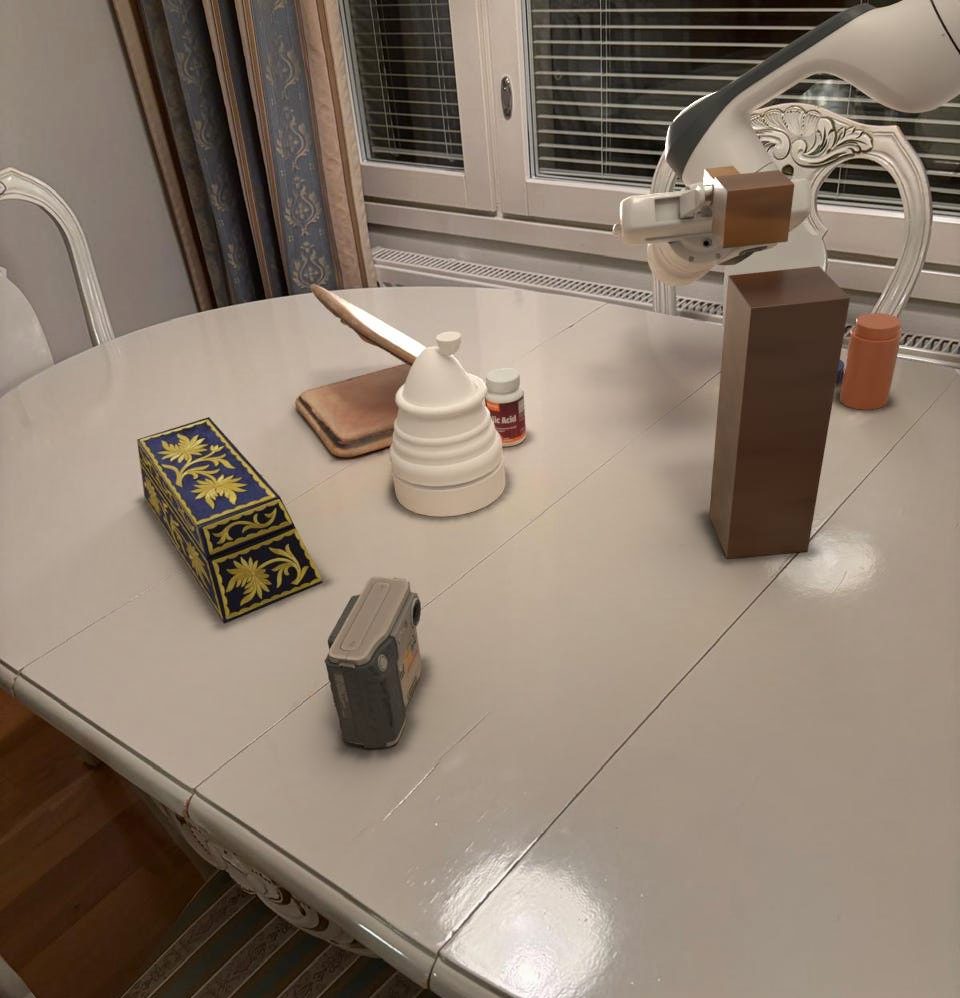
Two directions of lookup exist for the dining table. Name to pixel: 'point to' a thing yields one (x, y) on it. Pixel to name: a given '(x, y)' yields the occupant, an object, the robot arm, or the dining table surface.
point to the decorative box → (223, 519)
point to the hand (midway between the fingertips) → (729, 190)
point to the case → (359, 387)
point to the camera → (375, 661)
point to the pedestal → (774, 407)
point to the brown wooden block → (749, 206)
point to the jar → (870, 361)
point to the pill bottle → (506, 405)
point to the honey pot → (445, 437)
